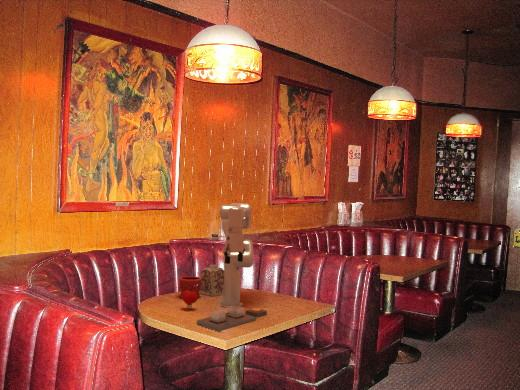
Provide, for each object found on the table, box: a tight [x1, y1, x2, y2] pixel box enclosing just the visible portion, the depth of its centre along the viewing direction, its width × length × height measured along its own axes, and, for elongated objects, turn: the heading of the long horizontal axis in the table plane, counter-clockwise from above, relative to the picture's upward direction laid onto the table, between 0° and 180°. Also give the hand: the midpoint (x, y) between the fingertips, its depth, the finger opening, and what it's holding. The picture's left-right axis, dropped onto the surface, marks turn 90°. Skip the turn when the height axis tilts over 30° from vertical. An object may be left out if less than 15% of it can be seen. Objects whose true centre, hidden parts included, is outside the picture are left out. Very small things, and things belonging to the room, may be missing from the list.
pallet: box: [196, 311, 257, 333], centre depth 256 cm, size 16×26×2 cm, turn 139°
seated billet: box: [228, 306, 244, 319], centre depth 261 cm, size 5×5×6 cm
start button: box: [250, 307, 263, 312], centre depth 272 cm, size 4×4×2 cm
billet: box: [210, 310, 226, 324], centre depth 252 cm, size 5×5×6 cm
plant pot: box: [179, 275, 201, 298], centre depth 308 cm, size 13×13×12 cm
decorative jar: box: [199, 264, 224, 297], centre depth 319 cm, size 12×12×18 cm
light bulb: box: [181, 291, 199, 310], centre depth 281 cm, size 9×7×10 cm
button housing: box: [245, 308, 268, 318], centre depth 272 cm, size 8×8×3 cm
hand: (233, 262), depth 271 cm, fingers open, 9 cm apart
